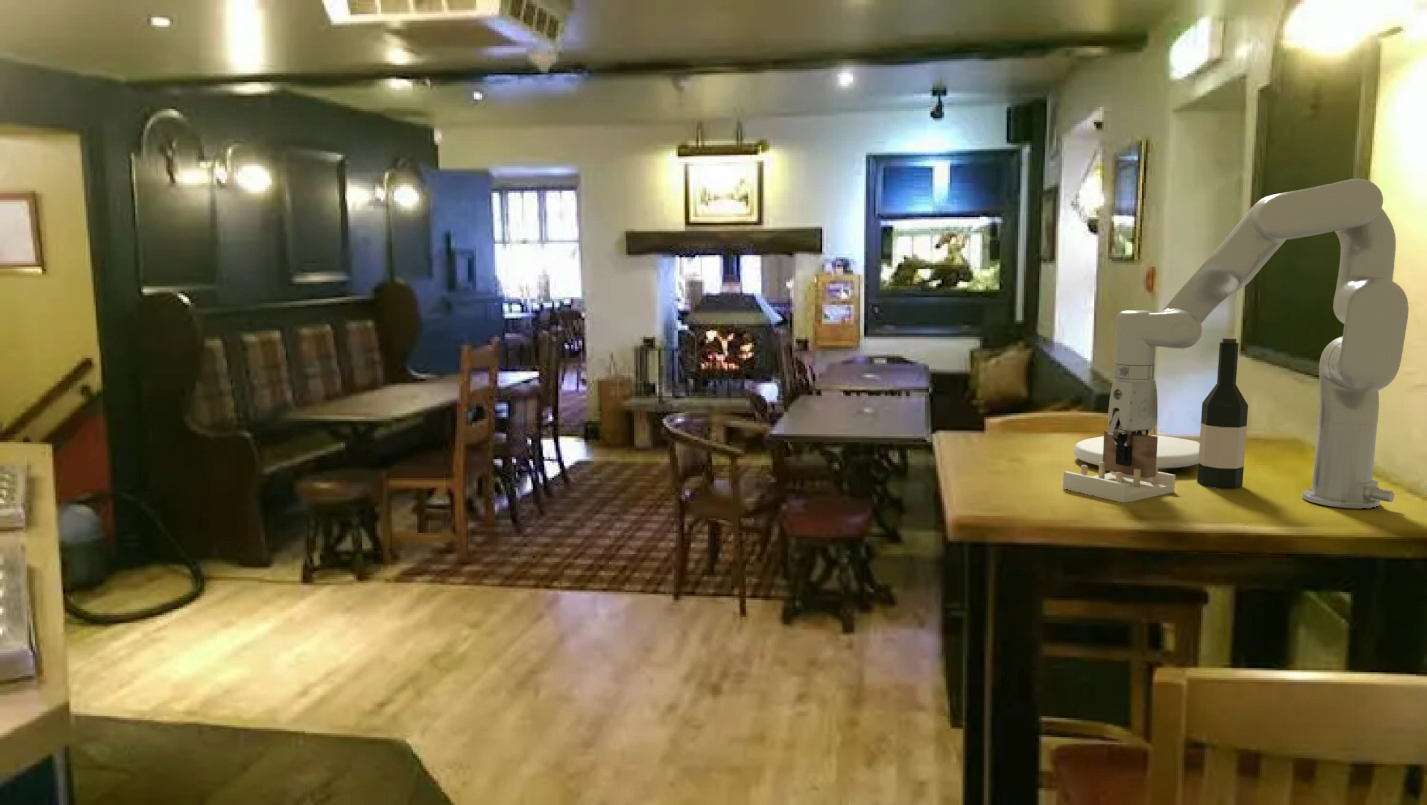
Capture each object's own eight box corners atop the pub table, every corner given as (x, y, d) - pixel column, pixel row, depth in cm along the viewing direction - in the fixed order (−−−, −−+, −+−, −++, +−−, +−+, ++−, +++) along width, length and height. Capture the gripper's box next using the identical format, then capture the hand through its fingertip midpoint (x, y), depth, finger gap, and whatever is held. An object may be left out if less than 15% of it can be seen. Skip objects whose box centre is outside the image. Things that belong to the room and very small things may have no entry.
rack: (1174, 492, 200) (1175, 467, 200) (1124, 502, 192) (1125, 477, 191) (1112, 479, 212) (1114, 455, 211) (1063, 488, 203) (1064, 464, 203)
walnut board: (1155, 476, 199) (1157, 436, 198) (1146, 478, 198) (1148, 438, 197) (1111, 467, 208) (1113, 429, 207) (1102, 469, 206) (1104, 431, 205)
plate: (1090, 454, 216) (1060, 433, 242) (1092, 483, 216) (1062, 459, 243) (1227, 442, 212) (1182, 422, 239) (1229, 472, 213) (1183, 449, 239)
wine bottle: (1217, 490, 202) (1227, 340, 198) (1187, 481, 210) (1197, 337, 205) (1251, 487, 204) (1262, 339, 200) (1221, 478, 212) (1231, 336, 208)
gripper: (1124, 377, 192) (1119, 472, 195) (1175, 371, 201) (1170, 462, 204) (1091, 374, 199) (1087, 465, 201) (1142, 368, 207) (1137, 456, 210)
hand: (1129, 463), depth 202 cm, fingers closed on walnut board, 3 cm apart
